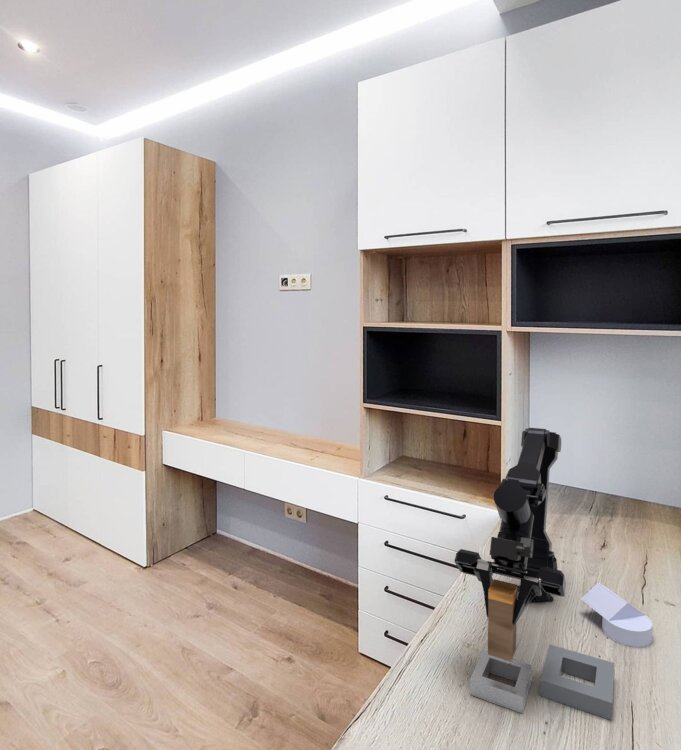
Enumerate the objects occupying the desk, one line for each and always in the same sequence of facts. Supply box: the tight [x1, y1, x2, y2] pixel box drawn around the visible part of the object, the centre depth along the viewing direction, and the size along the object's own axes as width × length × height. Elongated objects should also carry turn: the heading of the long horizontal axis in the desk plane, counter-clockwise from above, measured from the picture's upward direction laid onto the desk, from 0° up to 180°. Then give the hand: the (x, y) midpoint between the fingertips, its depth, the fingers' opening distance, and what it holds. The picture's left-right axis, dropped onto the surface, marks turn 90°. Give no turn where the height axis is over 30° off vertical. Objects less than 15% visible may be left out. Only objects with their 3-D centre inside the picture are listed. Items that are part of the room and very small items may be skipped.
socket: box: [539, 644, 615, 721], centre depth 88 cm, size 11×11×3 cm
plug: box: [487, 578, 518, 662], centre depth 87 cm, size 4×4×12 cm
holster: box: [469, 649, 533, 714], centre depth 88 cm, size 9×9×3 cm
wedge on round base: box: [580, 582, 654, 648], centre depth 105 cm, size 9×7×13 cm
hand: (500, 620), depth 86 cm, fingers closed on plug, 4 cm apart
